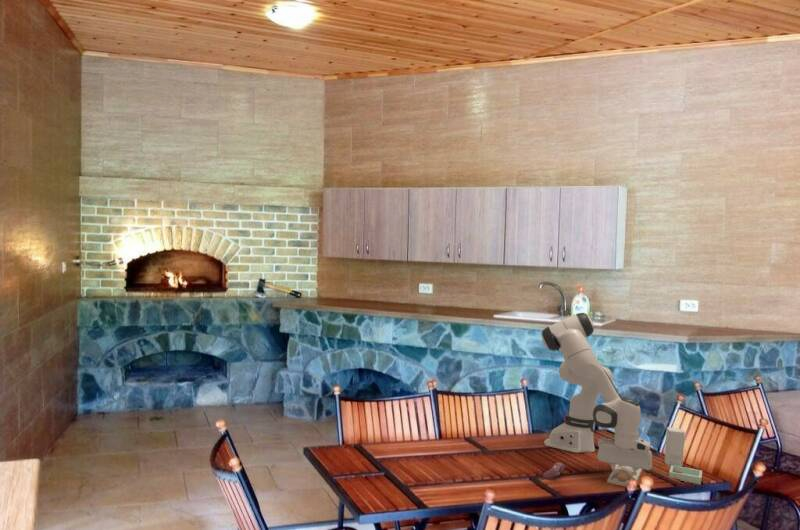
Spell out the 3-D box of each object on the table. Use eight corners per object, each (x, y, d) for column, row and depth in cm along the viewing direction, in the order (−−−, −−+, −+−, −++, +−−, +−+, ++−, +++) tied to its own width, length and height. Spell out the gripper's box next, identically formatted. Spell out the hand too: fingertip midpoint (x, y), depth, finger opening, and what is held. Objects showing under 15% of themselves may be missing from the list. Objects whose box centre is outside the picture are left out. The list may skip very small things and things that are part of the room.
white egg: (618, 476, 297) (619, 464, 296) (620, 473, 301) (621, 462, 301) (630, 478, 295) (631, 467, 295) (632, 475, 299) (633, 464, 299)
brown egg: (615, 482, 288) (616, 470, 288) (617, 479, 293) (618, 467, 292) (627, 484, 287) (629, 472, 286) (629, 481, 291) (630, 469, 291)
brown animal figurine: (551, 484, 288) (560, 470, 286) (541, 476, 290) (550, 462, 288) (559, 478, 296) (568, 464, 294) (550, 471, 298) (559, 457, 296)
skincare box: (682, 469, 319) (685, 432, 319) (665, 467, 320) (669, 430, 320) (679, 463, 327) (682, 428, 327) (663, 461, 328) (666, 426, 328)
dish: (668, 479, 302) (669, 472, 302) (670, 472, 313) (671, 464, 313) (700, 485, 297) (701, 477, 297) (701, 477, 308) (702, 470, 308)
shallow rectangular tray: (606, 485, 287) (607, 479, 287) (616, 467, 313) (617, 462, 313) (634, 490, 283) (634, 484, 283) (642, 472, 309) (642, 467, 309)
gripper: (597, 437, 290) (594, 473, 291) (652, 447, 282) (649, 484, 283) (599, 434, 296) (596, 469, 297) (654, 444, 288) (651, 479, 288)
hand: (622, 476), depth 290 cm, fingers closed on brown egg, 5 cm apart
